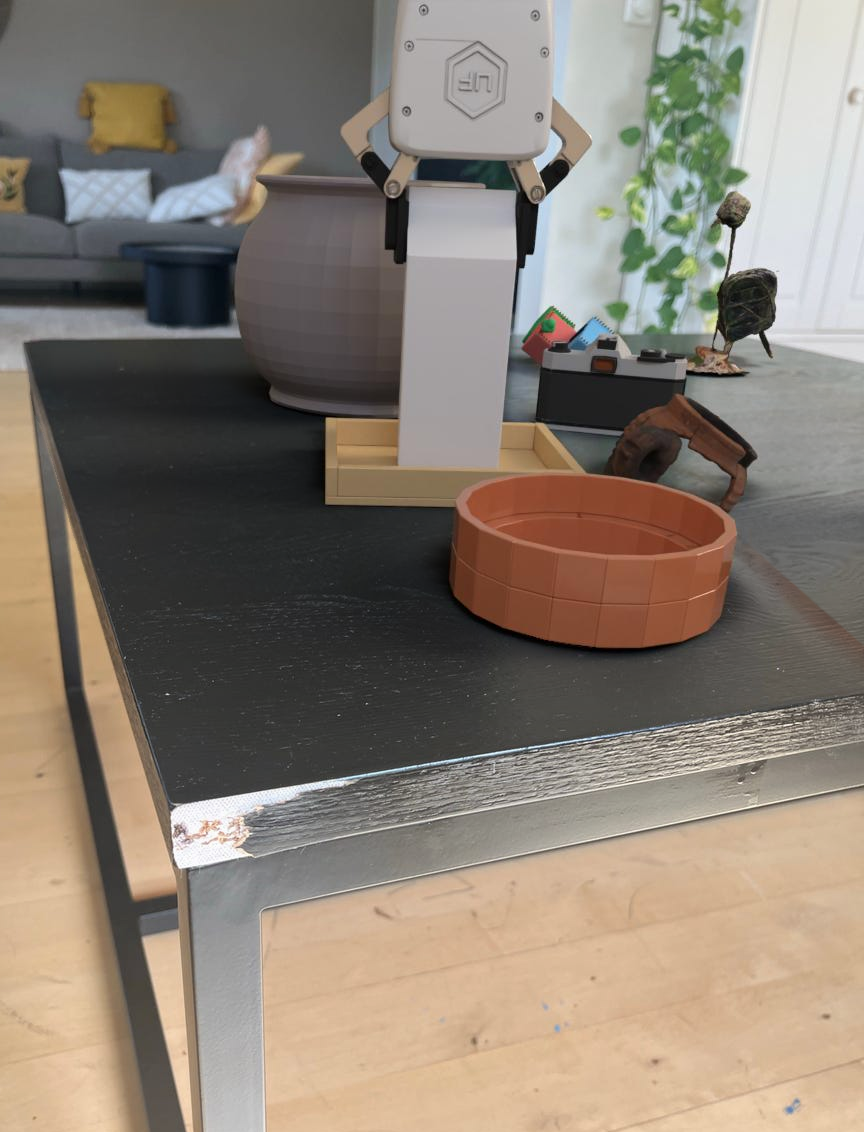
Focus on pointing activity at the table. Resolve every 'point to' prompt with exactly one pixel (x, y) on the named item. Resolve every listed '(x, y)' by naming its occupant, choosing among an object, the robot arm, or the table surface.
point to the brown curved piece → (658, 445)
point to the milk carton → (456, 326)
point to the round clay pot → (324, 295)
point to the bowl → (591, 558)
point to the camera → (605, 385)
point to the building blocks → (560, 333)
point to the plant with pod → (738, 300)
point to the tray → (373, 478)
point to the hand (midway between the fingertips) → (458, 262)
